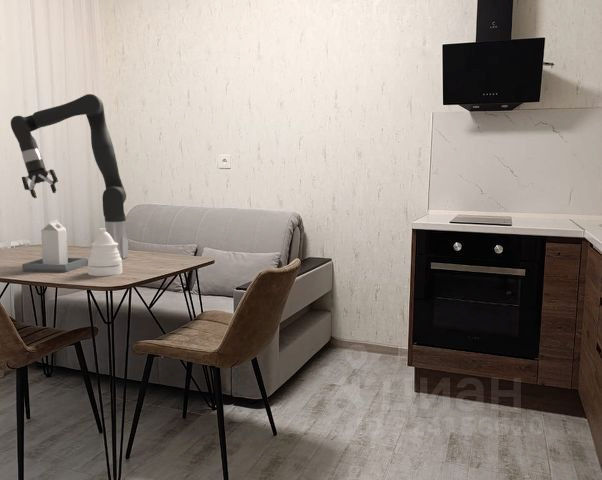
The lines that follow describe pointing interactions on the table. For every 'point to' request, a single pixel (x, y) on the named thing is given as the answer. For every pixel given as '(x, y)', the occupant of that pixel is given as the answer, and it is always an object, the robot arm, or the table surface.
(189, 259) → the table surface
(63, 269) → the charcoal tray
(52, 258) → the milk carton
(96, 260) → the honey pot
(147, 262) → the table surface
